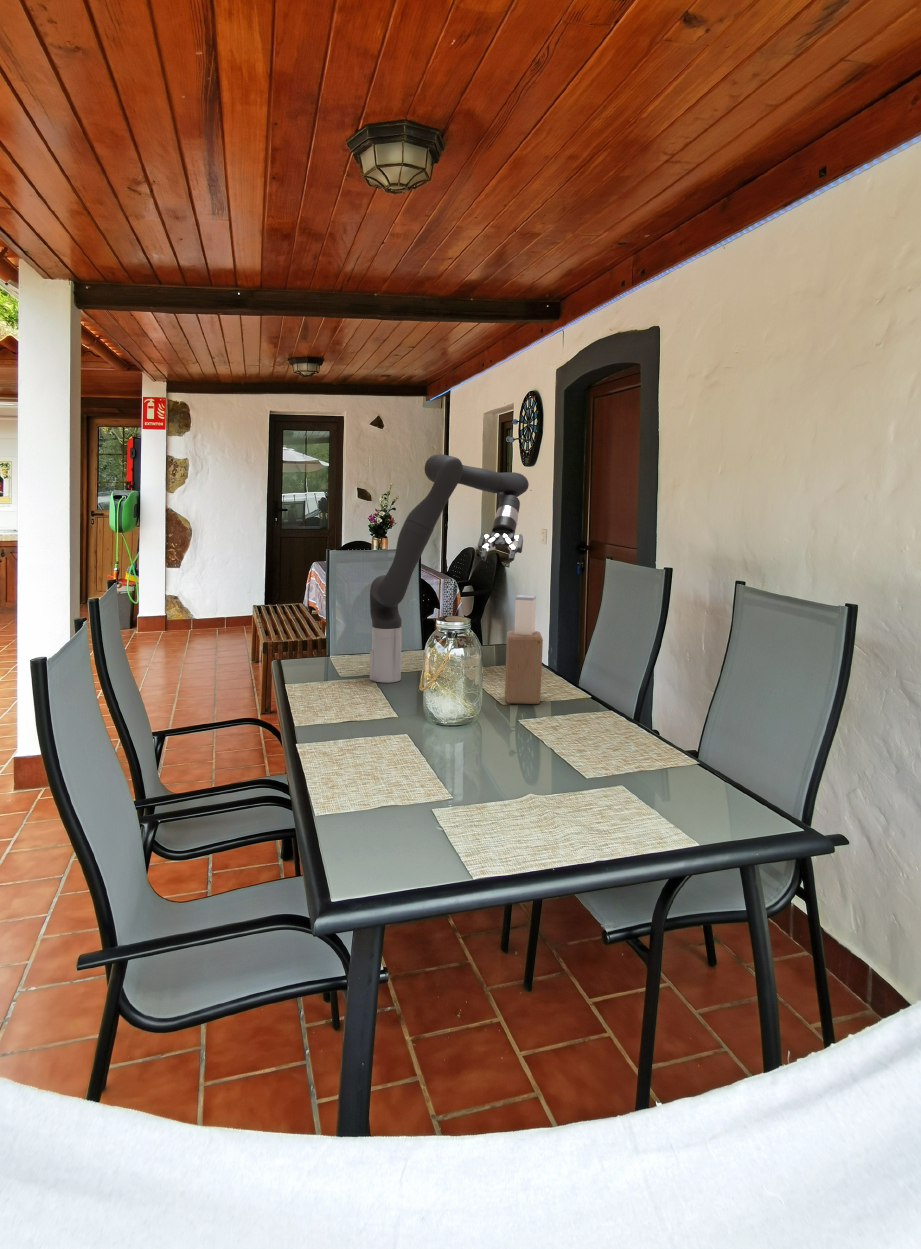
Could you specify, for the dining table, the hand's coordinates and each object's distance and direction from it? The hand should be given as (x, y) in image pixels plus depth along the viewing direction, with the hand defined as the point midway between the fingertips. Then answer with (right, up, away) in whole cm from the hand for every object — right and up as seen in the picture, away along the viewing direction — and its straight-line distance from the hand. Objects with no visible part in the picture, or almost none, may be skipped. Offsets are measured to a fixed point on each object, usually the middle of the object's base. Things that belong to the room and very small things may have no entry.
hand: (496, 560), depth 259 cm
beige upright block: (+7, -23, -23) cm, 33 cm away
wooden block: (+7, -43, -20) cm, 48 cm away
